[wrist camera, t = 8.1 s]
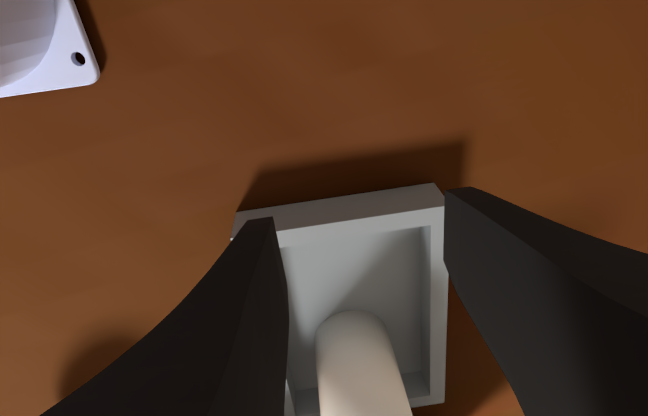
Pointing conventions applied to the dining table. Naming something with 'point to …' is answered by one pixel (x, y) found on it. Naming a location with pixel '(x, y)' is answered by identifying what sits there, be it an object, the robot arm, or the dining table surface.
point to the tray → (365, 281)
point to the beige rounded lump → (358, 367)
